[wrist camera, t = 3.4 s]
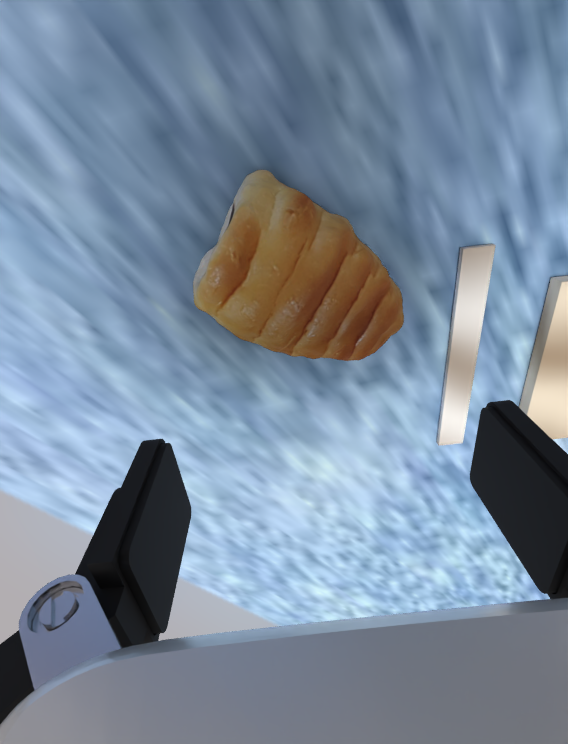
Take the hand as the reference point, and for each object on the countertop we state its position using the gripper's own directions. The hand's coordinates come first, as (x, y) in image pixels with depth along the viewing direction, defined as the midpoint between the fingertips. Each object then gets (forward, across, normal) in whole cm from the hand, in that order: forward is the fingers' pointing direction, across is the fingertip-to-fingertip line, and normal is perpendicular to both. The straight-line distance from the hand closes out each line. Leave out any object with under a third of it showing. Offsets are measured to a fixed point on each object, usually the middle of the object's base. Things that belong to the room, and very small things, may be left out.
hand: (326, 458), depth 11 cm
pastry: (+10, 0, 0) cm, 10 cm away
